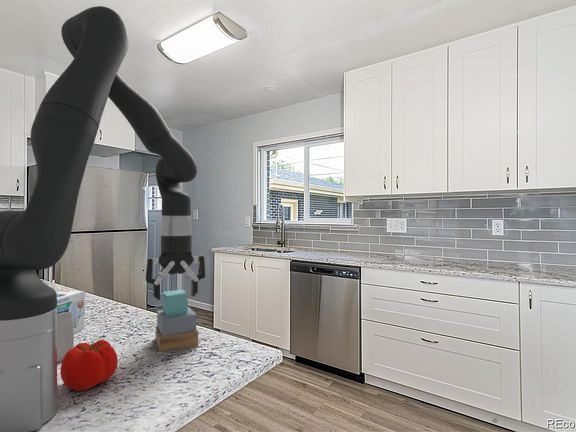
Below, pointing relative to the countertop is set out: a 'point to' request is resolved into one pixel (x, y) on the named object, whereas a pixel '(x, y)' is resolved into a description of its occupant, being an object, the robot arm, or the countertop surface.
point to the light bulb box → (72, 307)
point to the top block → (176, 323)
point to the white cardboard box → (64, 334)
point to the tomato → (88, 365)
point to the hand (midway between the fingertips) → (176, 297)
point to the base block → (176, 340)
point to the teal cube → (175, 302)
